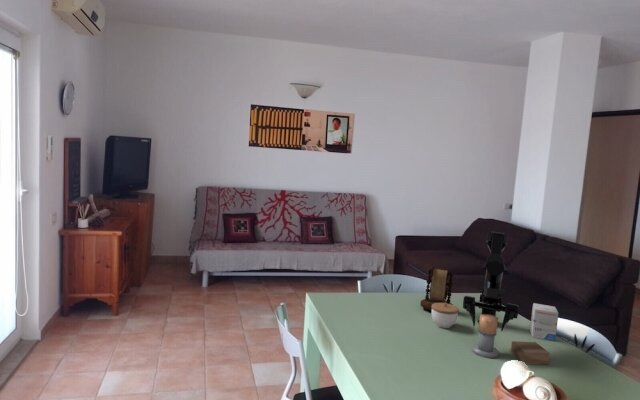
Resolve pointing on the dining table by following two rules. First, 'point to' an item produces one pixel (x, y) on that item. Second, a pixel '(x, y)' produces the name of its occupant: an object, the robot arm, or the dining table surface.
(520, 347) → the stand
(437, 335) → the dining table surface
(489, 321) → the cap
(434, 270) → the scroll
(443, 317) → the lidded jar
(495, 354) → the grey pedestal post
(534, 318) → the ink box
